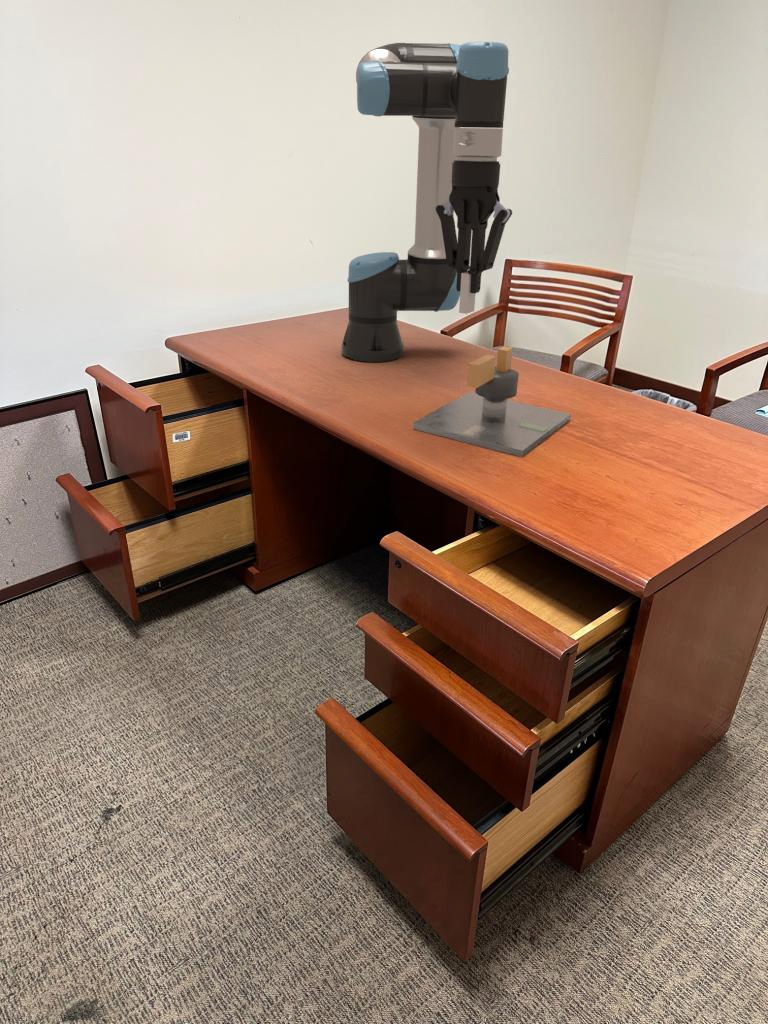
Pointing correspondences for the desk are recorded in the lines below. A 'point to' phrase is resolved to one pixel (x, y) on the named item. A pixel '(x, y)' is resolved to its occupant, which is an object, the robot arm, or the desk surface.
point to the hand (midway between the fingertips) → (466, 311)
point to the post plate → (493, 423)
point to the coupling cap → (494, 375)
